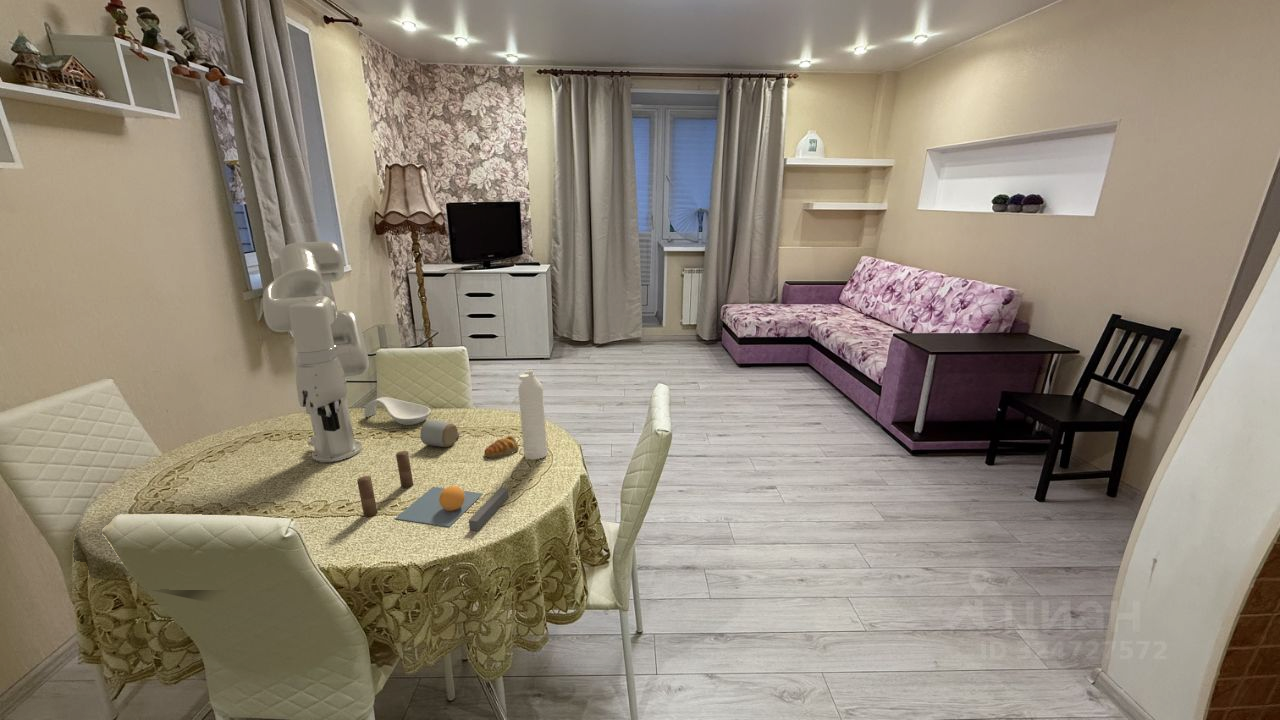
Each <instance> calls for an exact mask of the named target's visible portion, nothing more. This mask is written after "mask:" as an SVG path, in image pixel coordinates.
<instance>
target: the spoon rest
mask: <svg viewBox="0 0 1280 720" xmlns="http://www.w3.org/2000/svg"><path fill="white" fill-rule="evenodd" d="M378 403H380V404H382V405H383V406H384V408H385V410H386V412H387V413H388V414H389V416H390V417H391V418H392V420H394V421H395V422H396V423H398V424H399V425H402V424H403V426H414V425H416V424H421V422H424V421H426V420H427V418H428V417H429V415H430V414H431V411H432V409H431V408H429V407H428V406H426V405H424V404H419V403H415V402H410V401H405V400H402V399H397V398H392V397H389V396H388V397H387V396H381V397H378V398H376V399H373V400H371V401H369V402H368V404H367V405H365V406H366V407H365V408H364V418H365V417H368V418H370V417H369V416H371V417H373V416H375V415H376V414H377V404H378ZM374 414H375V415H374ZM372 415H373V416H372ZM413 424H414V425H413Z"/></svg>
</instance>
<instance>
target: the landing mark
mask: <svg viewBox="0 0 1280 720" xmlns="http://www.w3.org/2000/svg"><path fill="white" fill-rule="evenodd" d="M445 488H446V487H445ZM445 488H443V487H436V486H432V487H431V488H429V489H428V490H427V491H426V492H424V493H423V494H422V495H421V496H420V497H418V499H416V500H415V501H414V502H413V503H411V504H410V505H409V506H408V507H407V508H406V509H405V510H403V511H402V512H401V513H399V514H398V515H397V516H396V517H395V518H394V519H395V520H398V521H399V520H400V521H407V522H412V523H413V522H414V523H419V524H424V525H425V524H426V525H433V526H439V527H446V528H450V527H451V526H452V525H454V523H456V522H457V520H458V519H460V517H462V516H463V514H465V512H466V511H468V509H469V508H471V506H472V505H474V504H475V503H476V502H477V501H478V499H479V498H481V496H482V495H483V494H484V493H483V492H475V491H468V490H463V492H464V495H465V500H464V503H463V505H462V506H461V507H460V508H459V509H457V510H454V511H448V510H445V509H444V508H442V506H441V505H440V502H439V497H440V494H441V492H442V491H443V490H444V489H445Z"/></svg>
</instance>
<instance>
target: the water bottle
mask: <svg viewBox="0 0 1280 720" xmlns="http://www.w3.org/2000/svg"><path fill="white" fill-rule="evenodd" d="M518 377H519V380H520V381H521V382H520V383H519V385H518V392H517V393H518V397H519V398H518V399H519V401H518V403H519V408H520V409H519V410H520V412H519V413H520V421H521V423H520V424H521V434H522V441H523V442H522V446H523V456H524V457H525V458H526V459H527V460H532V461H534V460H540V458H541V459H544V458H546V457H547V455H548V442H547V428H546V420H545V419H546V416H545V415H546V414H545V403H544V401H545V400H544V388H543V385H542V383H541V381H539V379H538V378H537V377H536V376H535V373H534V370H533V369H525V370H524V374H519V375H518Z"/></svg>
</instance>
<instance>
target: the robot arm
mask: <svg viewBox="0 0 1280 720" xmlns="http://www.w3.org/2000/svg"><path fill="white" fill-rule="evenodd" d="M271 272H272V277H273V278H274V280H272V281H271V282H269V284H268V285H267V286H266V287H265V289H264V291H263V294H262V306H263V316H264V320H265V323H266V325H267V326H268V327H269V329H271V330H272V331H273V332H277V333H283V332H285V333H286V332H291V333H292V337H293V342H294V345H295V346H294V347H295V352H296V354H295V357H294V367H295V384H296V392H297V399H298V403H299V405H300V407H303V408H305V414H306V415H309V417H310V423H311V428H312V431H313V435H312V436H310V439H309V440H308V441H307V446H310V447H311V446H312V447H314V448H313V449H314V450H313V452H312V453H311V457H312V458H313V459H314V460H313V459H312V460H313V461H315V460H316V461H315V462H317V461H320V462H319V463H333V462H334V461H335V462H339V461H340V462H341V461H343V459H344V460H347V459H348V458H349V459H350V458H352V457H354V456H355V455H358V453H360V451H361V450H362V449H363V445H362V442H361V441H358V440H356V439H355V435H354V431H353V425H352V420H351V419H352V418H351V415H350V409H349V404H348V399H347V394H348V384H347V380H346V378H348V377H355V376H360V375H363V374H365V373H366V372H367V371H368V370H369V368H370V367H369V366H370V362H369V361H370V360H369V354H368V351H367V350H368V349H367V347H366V343H365V338H364V335H363V330H362V326H361V324H360V320H359V318H358V316H357V315H356V313H354V311H353V312H352V311H351V310H345V309H344V310H337V306H336V303H335V302H334V301H333V300H332V299H331V298H329V297H328V296H326V295H320V294H318V291H319V290H320V289H321V287H322V285H323V284H324V283H333V282H334V283H335V282H339V281H341V280H342V279H343V277H344V275H345V259H344V253H343V252H342V250H341V248H340V247H339V246H338V245H337V244H336V243H335V242H333V241H327V240H326V241H323V240H322V241H305V242H304V241H303V242H300V241H299V242H294V243H293V242H292V243H289V244H286V245H285V246H283V247H282V248H281V250H280V251H279V257H277V258H274V260H273V261H272V262H271ZM346 458H347V459H346Z"/></svg>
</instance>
